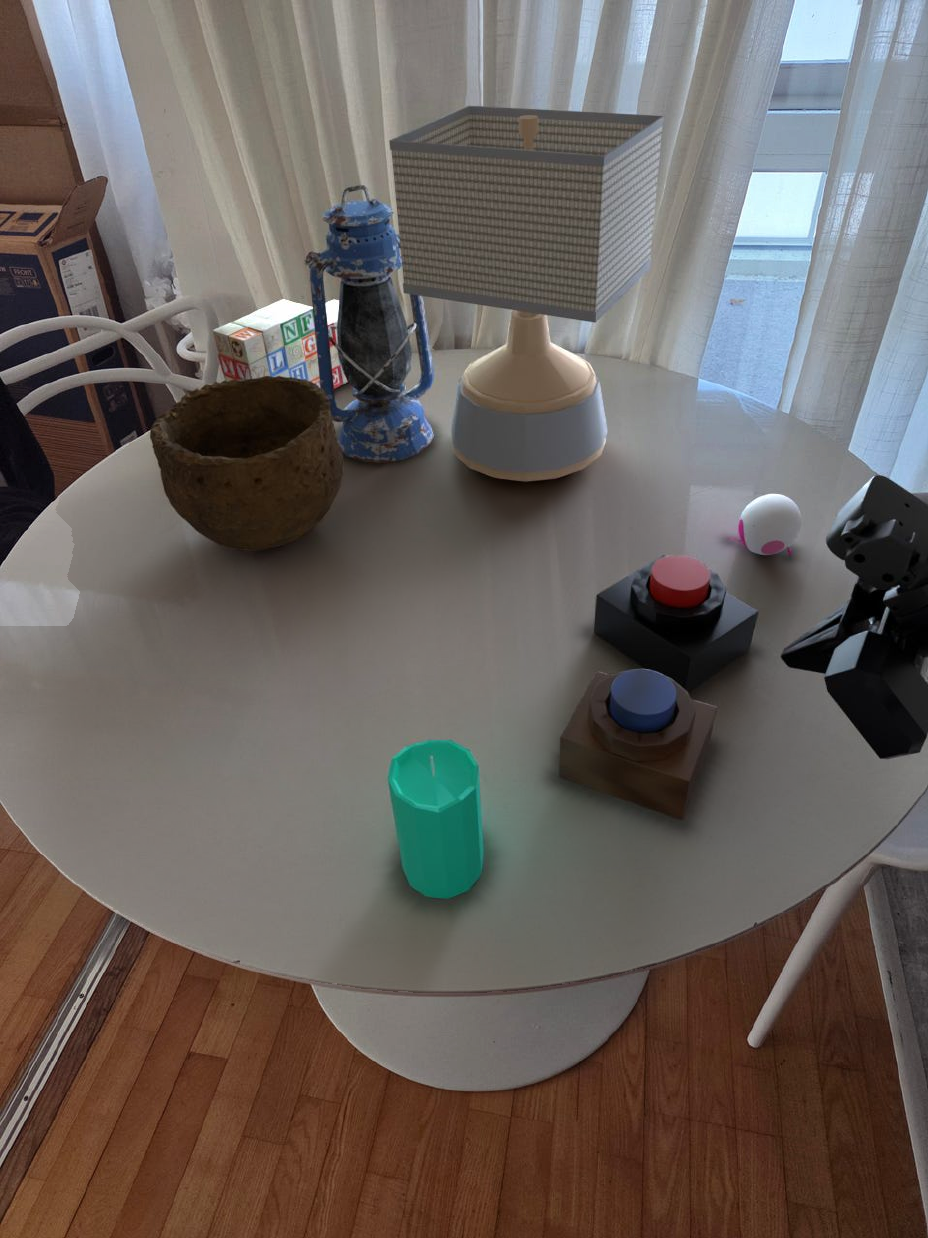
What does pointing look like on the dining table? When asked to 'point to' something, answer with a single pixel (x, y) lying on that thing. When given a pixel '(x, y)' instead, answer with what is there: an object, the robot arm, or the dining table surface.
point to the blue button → (642, 700)
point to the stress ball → (769, 524)
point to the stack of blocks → (277, 344)
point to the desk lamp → (528, 263)
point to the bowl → (250, 460)
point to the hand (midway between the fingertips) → (785, 658)
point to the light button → (679, 581)
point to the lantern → (370, 334)
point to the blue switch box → (636, 750)
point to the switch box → (675, 629)
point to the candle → (437, 816)
